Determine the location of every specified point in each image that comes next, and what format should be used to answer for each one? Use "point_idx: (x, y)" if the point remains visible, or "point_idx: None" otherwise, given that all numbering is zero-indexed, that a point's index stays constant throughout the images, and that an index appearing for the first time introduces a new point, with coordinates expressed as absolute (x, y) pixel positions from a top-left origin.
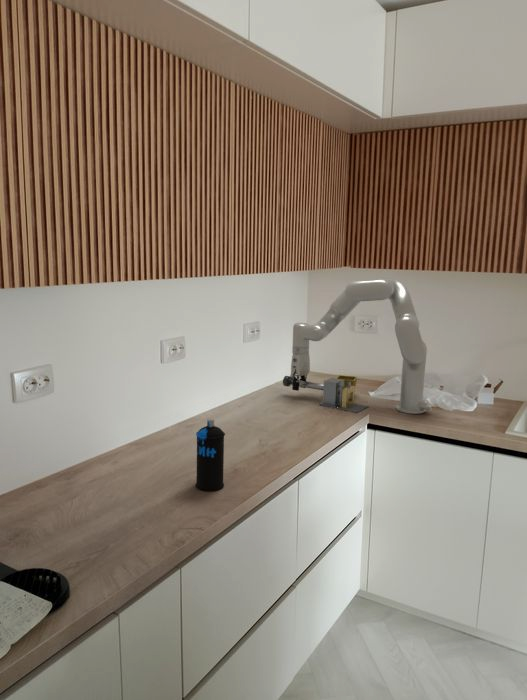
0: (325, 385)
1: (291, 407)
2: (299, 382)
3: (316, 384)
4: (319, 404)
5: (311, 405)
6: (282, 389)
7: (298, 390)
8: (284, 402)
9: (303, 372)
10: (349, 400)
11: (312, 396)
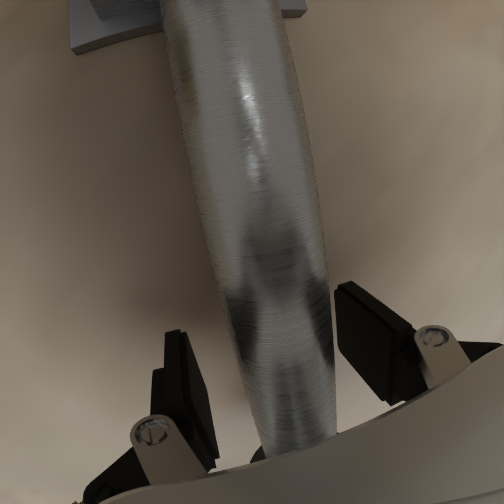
0: None
1: (461, 149)
2: (334, 365)
3: (282, 31)
4: (303, 11)
5: (345, 63)
6: None
7: (340, 284)
8: (414, 262)
9: (480, 426)
10: None
11: (95, 261)
